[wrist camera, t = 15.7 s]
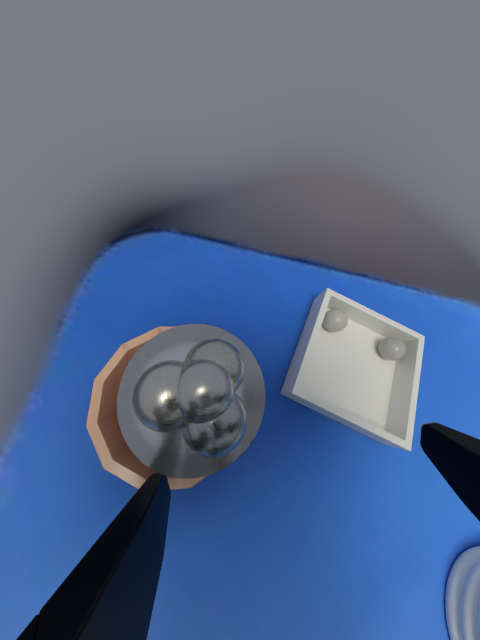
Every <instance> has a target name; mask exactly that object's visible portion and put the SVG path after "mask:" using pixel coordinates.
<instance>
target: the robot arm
mask: <svg viewBox="0 0 480 640" xmlns="http://www.w3.org/2000/svg"><path fill="white" fill-rule="evenodd" d="M420 444H421V447H422V449H423V451H424V452H425V454H426V455H427V456H428V458H429V459H430V460H431V462H432V463H433V464H434V466H435V467H436V468H437V470H438V471H439V472H440V473H441V475H442V476H443V477H444V479H445V480H446V481H447V483H448V484H449V485H450V487H451V488H452V489H453V490H454V492H455V493H456V494H457V496H458V497H459V498H460V499H461V501H462V502H463V503H464V504H465V505H466V506H467V508H468V509H469V510H470V511H471V512H472V513H473V514H474V516H475V517H476V518H477V519H478V520H479V521H480V440H479V439H477V438H474V437H471V436H469V435H466V434H464V433H461V432H459V431H456V430H454V429H451V428H449V427H446V426H443V425H441V424H438V423H427V424H423V425H422V427H421V440H420ZM170 499H171V491H170V486H169V483H168V480H167V476H166V475H163V474H160V473H158V472H155V473H152V474H151V475H150V476H149V477H148V478H147V480H146V481H145V482H144V483H143V485H142V486H141V487H140V488H139V489H138V491H137V492H136V493H135V494H134V496H133V497H132V498H131V499H130V501H129V502H128V503H127V504H126V505H125V507H124V508H123V509H122V510H121V512H120V513H119V514H118V515H117V516H116V518H115V519H114V520H113V521H112V523H111V524H110V525H109V526H108V528H107V529H106V530H105V531H104V532H103V534H102V535H101V536H100V537H99V539H98V540H97V541H96V542H95V544H94V545H93V546H92V547H91V548H90V550H89V551H88V552H87V553H86V555H85V556H84V557H83V558H82V560H81V561H80V562H79V563H78V564H77V566H76V567H75V568H74V569H73V571H72V572H71V573H70V574H69V576H68V577H67V578H66V579H65V580H64V582H63V583H62V584H61V585H60V587H59V588H58V589H57V590H56V592H55V593H54V594H53V595H52V596H51V598H50V599H49V600H48V601H47V603H46V604H45V605H44V606H43V608H42V609H41V610H40V613H39V614H38V615H36V616H35V617H34V618H33V620H32V621H31V622H30V623H29V625H28V626H27V627H26V628H25V629H24V631H23V632H22V633H21V634H20V636H19V637H18V638H17V639H16V640H146V639H147V634H148V629H149V624H150V620H151V615H152V610H153V605H154V600H155V595H156V591H157V586H158V581H159V576H160V571H161V566H162V561H163V555H164V548H165V540H166V532H167V523H168V515H169V507H170Z"/></svg>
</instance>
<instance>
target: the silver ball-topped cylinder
mask: <svg viewBox="0 0 480 640" xmlns="http://www.w3.org/2000/svg"><path fill="white" fill-rule="evenodd" d="M264 408H265V384H264V380H263V375H262V372H261V369H260V367H259V365H258V362H257V360H256V359H255V357H254V355H253V354H252V352H251V351H250V350H249V349H248V347H247V346H246V345H245V344H244V343H243V342H242V341H241V340H240V339H238V338H237V337H236V336H234V335H233V334H231V333H229V332H228V331H226V330H223V329H221V328H218V327H215V326H212V325H206V324H185V325H180V326H176V327H173V328H170V329H167V330H165V331H163V332H161V333H159V334H157V335H156V336H154V337H153V338H151V339H150V340H149V341H147V342H146V343H145V344H144V345H143V346H142V347H141V348H140V349H139V350H138V351H137V352H136V354H135V355H134V356H133V358H132V359H131V360H130V362H129V364H128V366H127V367H126V369H125V371H124V374H123V376H122V379H121V382H120V386H119V390H118V397H117V415H118V421H119V426H120V429H121V432H122V435H123V437H124V439H125V441H126V443H127V445H128V447H129V448H130V449H131V451H132V452H133V454H134V455H135V456H136V457H137V458H138V459H139V460H140V461H141V462H142V463H144V464H145V465H146V466H148V467H149V468H150V469H152V470H154V471H156V472H158V473H160V474H163V475H166V476H169V477H174V478H181V479H193V478H199V477H205V476H208V475H211V474H214V473H216V472H218V471H220V470H222V469H224V468H226V467H227V466H229V465H230V464H232V463H233V462H234V461H235V460H236V459H238V458H239V457H240V456H241V455H242V454H243V453H244V452H245V450H246V449H247V448H248V447H249V445H250V444H251V442H252V441H253V439H254V437H255V436H256V434H257V432H258V430H259V427H260V424H261V422H262V418H263V414H264Z"/></svg>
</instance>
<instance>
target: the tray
mask: <svg viewBox="0 0 480 640" xmlns="http://www.w3.org/2000/svg"><path fill="white" fill-rule="evenodd" d="M331 309H340V310H342V311H343V312H345V314H346V315H347V317H348V324H347V326H346V327H345V328H344V329H343V330H342V331H339V332H332V331H329V330H327V329H326V328H325V326H324V324H323V319H324V316H325V313H326V312H327V311H329V310H331ZM388 337H395V338H398V339H400V340H401V341H403V342H404V344H405V345H406V349H407V350H406V354H405V356H404V357H403V358H401V359H399V360H394V361H393V360H388V359H385V358H384V357H383V356H382V355H381V354H380V352H379V349H378V347H379V344H380V342H381V341H382V340H383V339H385V338H388ZM424 339H425V336H423V335H421V334H419V333H417V332H415V331H413V330H411V329H409V328H407V327H405V326H403V325H401V324H399V323H397V322H395V321H393V320H391V319H389V318H387V317H385V316H383V315H381V314H379V313H377V312H375V311H373V310H371V309H369V308H367V307H365V306H363V305H361V304H359V303H357V302H355V301H353V300H351V299H349V298H347V297H345V296H343V295H341V294H338V293H336V292H334V291H332V290H330V289H328V288H327V289H326V290H324V291H323V292H322V293H321V294H320V295H319V296H317V297H316V298H315V299H314V300H313V302H312V305H311V308H310V311H309V313H308V316H307V319H306V322H305V325H304V327H303V330H302V333H301V336H300V339H299V341H298V344H297V347H296V350H295V353H294V355H293V358H292V361H291V364H290V367H289V369H288V372H287V375H286V378H285V381H284V383H283V386H282V389H281V392H280V394H282V395H284V396H286V397H288V398H290V399H292V400H294V401H296V402H298V403H300V404H302V405H304V406H306V407H308V408H310V409H312V410H314V411H316V412H318V413H320V414H322V415H324V416H327V417H329V418H331V419H333V420H335V421H337V422H339V423H341V424H343V425H345V426H347V427H349V428H351V429H353V430H355V431H357V432H359V433H361V434H363V435H365V436H367V437H369V438H371V439H373V440H376V441H378V442H380V443H382V444H384V445H388V446H392V447H396V448H400V449H403V450H407V451H411V446H412V438H413V430H414V421H415V413H416V405H417V397H418V388H419V380H420V372H421V364H422V356H423V347H424Z"/></svg>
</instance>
